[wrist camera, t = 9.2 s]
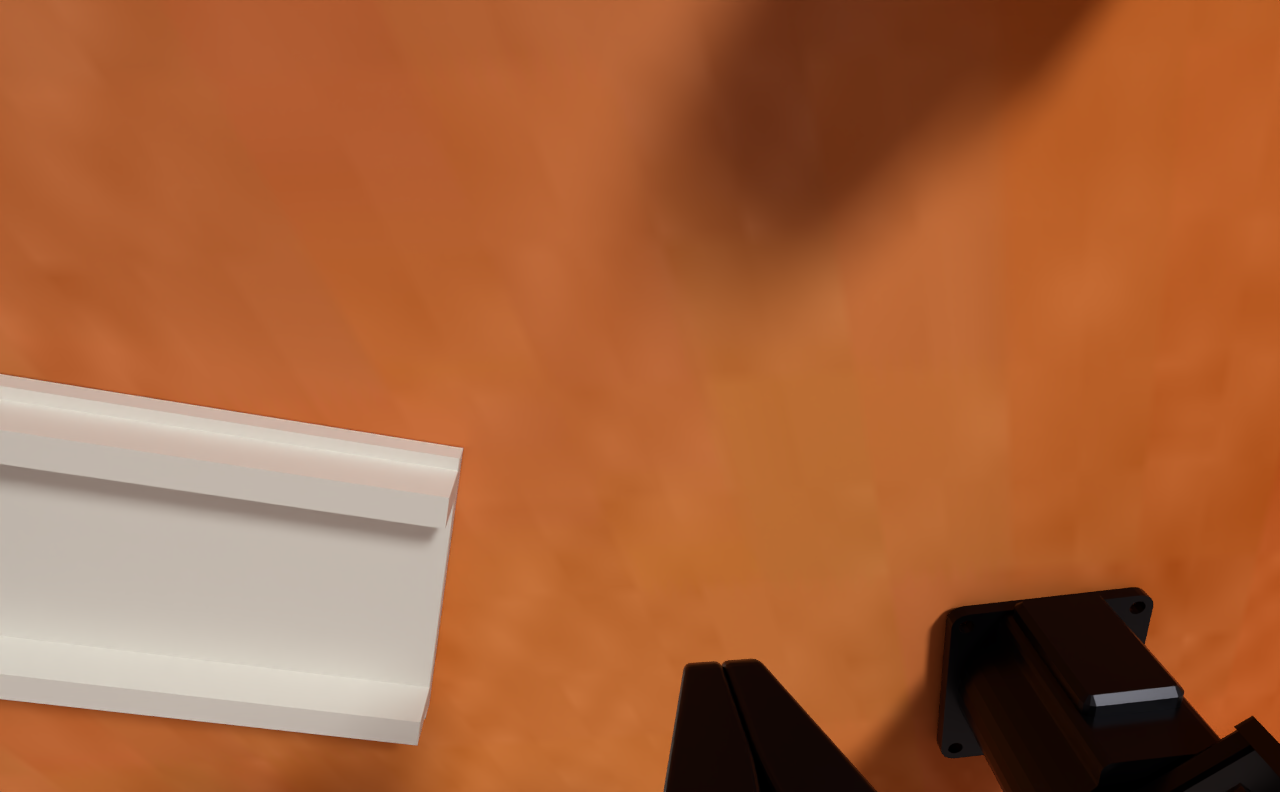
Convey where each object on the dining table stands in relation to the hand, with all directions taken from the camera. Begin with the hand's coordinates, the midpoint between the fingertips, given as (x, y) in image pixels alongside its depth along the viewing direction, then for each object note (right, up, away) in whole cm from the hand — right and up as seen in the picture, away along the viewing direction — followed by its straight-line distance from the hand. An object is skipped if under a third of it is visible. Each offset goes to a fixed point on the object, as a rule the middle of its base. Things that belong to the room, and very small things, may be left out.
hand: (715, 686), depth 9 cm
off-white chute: (-14, -1, +15) cm, 20 cm away
